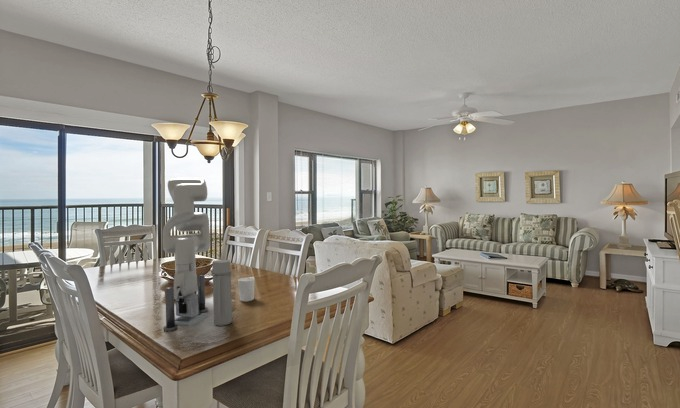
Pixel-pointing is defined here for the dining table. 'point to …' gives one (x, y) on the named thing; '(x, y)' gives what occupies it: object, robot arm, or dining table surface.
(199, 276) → the post
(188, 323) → the paddle plate
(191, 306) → the medicine box
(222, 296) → the water bottle
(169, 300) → the post
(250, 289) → the white cup
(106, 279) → the dining table surface
